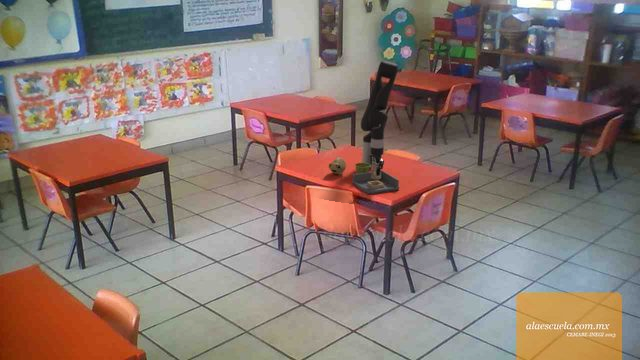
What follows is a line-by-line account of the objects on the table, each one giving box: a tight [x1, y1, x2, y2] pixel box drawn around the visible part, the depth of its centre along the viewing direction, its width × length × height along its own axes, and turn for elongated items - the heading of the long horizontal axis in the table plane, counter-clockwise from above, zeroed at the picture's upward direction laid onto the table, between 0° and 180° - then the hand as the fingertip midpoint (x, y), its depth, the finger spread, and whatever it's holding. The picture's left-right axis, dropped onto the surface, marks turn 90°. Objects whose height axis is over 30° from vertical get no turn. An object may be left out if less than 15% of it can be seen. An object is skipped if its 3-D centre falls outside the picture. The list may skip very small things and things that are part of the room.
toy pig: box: [328, 156, 347, 176], centre depth 371 cm, size 10×12×11 cm
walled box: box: [352, 169, 400, 196], centre depth 349 cm, size 20×20×6 cm
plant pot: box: [354, 162, 370, 174], centre depth 364 cm, size 9×9×9 cm
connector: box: [371, 163, 382, 180], centre depth 347 cm, size 4×4×9 cm
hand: (376, 174), depth 348 cm, fingers closed on connector, 4 cm apart
